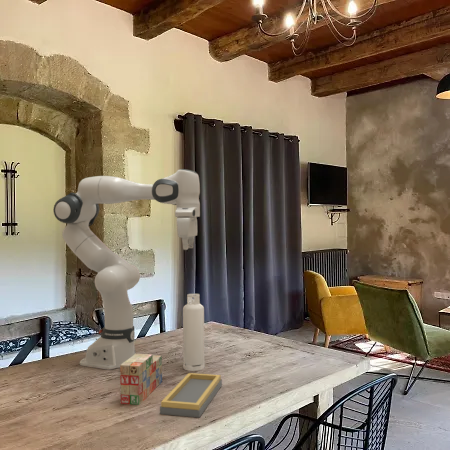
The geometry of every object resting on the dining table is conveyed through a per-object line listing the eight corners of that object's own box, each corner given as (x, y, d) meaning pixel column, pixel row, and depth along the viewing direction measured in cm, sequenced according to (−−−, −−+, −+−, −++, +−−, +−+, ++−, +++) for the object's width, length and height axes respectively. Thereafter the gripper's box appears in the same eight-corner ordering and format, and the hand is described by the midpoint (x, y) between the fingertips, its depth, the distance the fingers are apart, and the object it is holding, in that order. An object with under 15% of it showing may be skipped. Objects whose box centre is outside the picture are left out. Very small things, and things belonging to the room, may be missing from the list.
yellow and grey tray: (159, 414, 136) (159, 402, 136) (188, 382, 162) (188, 372, 162) (199, 417, 133) (199, 405, 133) (221, 385, 160) (221, 374, 160)
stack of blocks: (145, 380, 165) (145, 346, 165) (162, 381, 164) (162, 346, 164) (120, 404, 144) (119, 364, 144) (139, 405, 143) (138, 365, 143)
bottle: (179, 369, 177) (178, 295, 177) (189, 363, 185) (189, 292, 184) (198, 372, 174) (197, 296, 174) (208, 365, 181) (207, 293, 181)
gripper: (185, 212, 187) (185, 247, 187) (173, 211, 167) (174, 250, 167) (201, 212, 186) (201, 247, 187) (191, 211, 166) (191, 250, 166)
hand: (188, 248), depth 177 cm, fingers open, 8 cm apart
